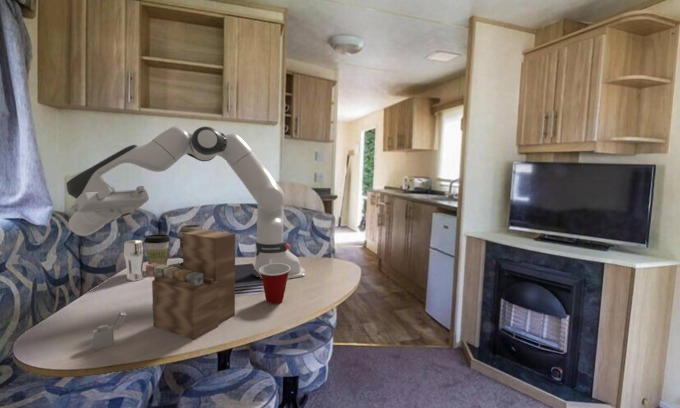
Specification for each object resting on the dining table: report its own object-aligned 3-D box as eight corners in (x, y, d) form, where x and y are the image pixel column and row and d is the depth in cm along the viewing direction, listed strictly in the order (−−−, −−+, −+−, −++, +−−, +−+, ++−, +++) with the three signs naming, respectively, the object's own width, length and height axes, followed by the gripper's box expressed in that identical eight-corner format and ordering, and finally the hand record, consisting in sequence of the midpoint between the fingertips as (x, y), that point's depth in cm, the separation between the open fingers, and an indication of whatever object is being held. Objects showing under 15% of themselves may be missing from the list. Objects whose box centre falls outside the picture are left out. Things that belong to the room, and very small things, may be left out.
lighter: (94, 349, 88) (92, 318, 87) (94, 346, 90) (92, 316, 89) (127, 341, 92) (126, 312, 92) (126, 339, 94) (125, 310, 93)
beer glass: (148, 276, 143) (148, 240, 141) (137, 282, 136) (136, 244, 135) (132, 275, 144) (131, 239, 142) (120, 280, 137) (119, 243, 135)
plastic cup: (251, 302, 121) (251, 268, 120) (271, 293, 131) (272, 261, 129) (276, 309, 116) (277, 274, 115) (295, 299, 126) (296, 266, 124)
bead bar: (144, 274, 105) (144, 265, 104) (153, 272, 107) (153, 262, 107) (195, 286, 96) (195, 276, 96) (203, 283, 99) (203, 273, 99)
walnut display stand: (153, 326, 101) (151, 237, 99) (199, 305, 117) (198, 228, 114) (193, 339, 95) (193, 244, 92) (237, 316, 110) (237, 234, 107)
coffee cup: (139, 272, 147) (138, 237, 146) (157, 266, 157) (156, 233, 155) (158, 275, 145) (158, 239, 143) (175, 268, 154) (175, 235, 153)
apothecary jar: (174, 263, 163) (173, 224, 161) (200, 259, 170) (200, 222, 168) (181, 269, 153) (181, 229, 151) (209, 265, 161) (209, 226, 159)
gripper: (63, 201, 104) (87, 180, 98) (130, 196, 122) (153, 178, 116) (71, 221, 103) (95, 200, 97) (136, 213, 122) (160, 195, 116)
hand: (127, 188), depth 107 cm, fingers open, 8 cm apart
